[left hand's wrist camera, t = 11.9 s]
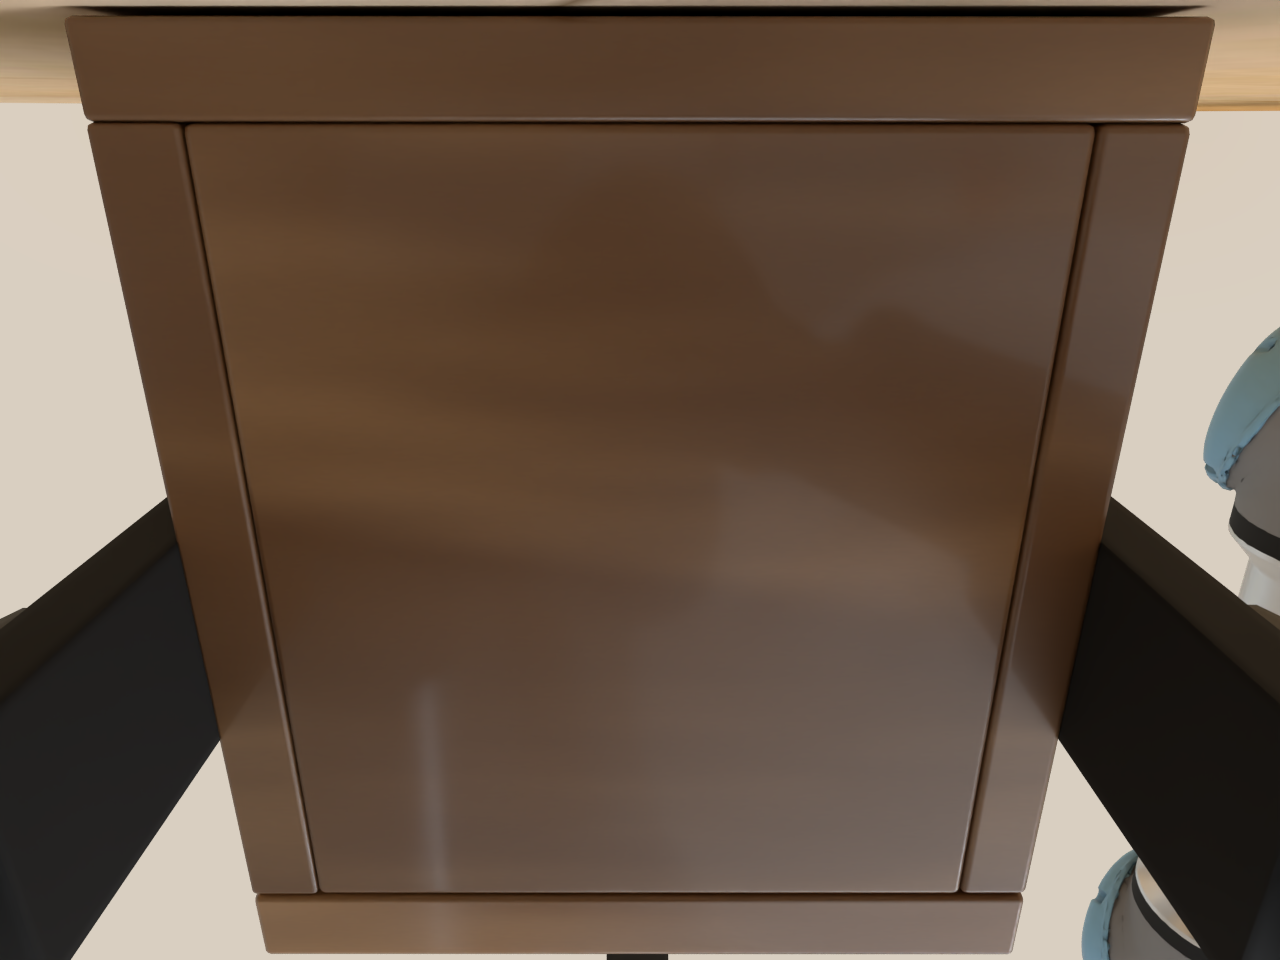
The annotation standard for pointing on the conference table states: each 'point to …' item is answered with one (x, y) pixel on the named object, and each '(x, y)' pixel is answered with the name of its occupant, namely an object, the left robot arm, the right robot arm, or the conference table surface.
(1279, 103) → the conference table surface
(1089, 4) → the conference table surface
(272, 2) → the conference table surface
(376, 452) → the chest
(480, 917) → the lid
